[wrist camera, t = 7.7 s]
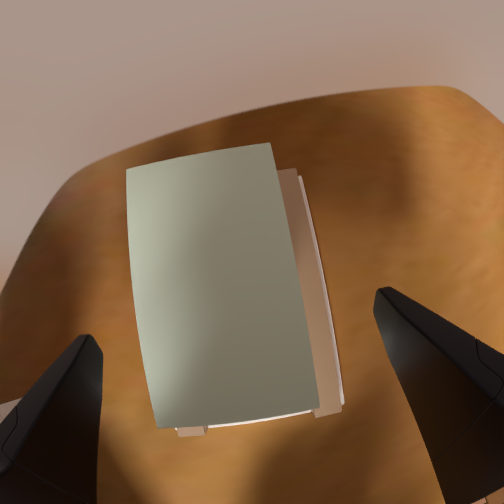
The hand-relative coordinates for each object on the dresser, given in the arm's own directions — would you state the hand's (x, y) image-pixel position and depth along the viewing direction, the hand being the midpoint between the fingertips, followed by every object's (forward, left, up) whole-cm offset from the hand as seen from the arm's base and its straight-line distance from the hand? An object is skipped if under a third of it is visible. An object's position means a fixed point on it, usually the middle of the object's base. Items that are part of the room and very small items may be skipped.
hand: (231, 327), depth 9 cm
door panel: (+1, 0, -8) cm, 8 cm away
